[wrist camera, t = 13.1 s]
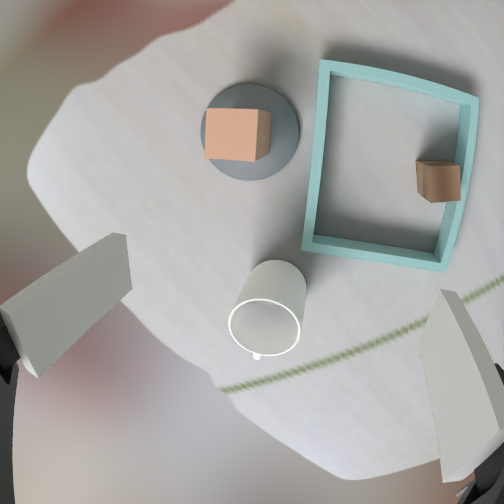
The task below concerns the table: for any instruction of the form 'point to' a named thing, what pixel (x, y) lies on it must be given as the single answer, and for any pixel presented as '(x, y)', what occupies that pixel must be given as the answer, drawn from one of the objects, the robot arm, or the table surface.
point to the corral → (462, 158)
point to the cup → (269, 309)
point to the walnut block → (438, 180)
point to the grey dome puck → (280, 135)
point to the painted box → (237, 134)
